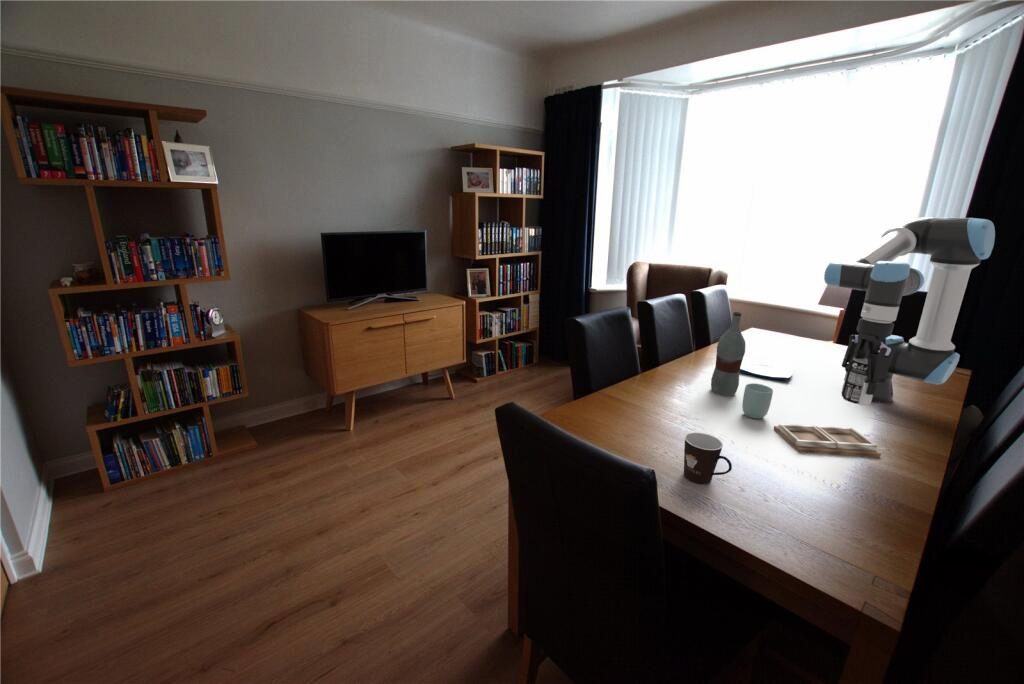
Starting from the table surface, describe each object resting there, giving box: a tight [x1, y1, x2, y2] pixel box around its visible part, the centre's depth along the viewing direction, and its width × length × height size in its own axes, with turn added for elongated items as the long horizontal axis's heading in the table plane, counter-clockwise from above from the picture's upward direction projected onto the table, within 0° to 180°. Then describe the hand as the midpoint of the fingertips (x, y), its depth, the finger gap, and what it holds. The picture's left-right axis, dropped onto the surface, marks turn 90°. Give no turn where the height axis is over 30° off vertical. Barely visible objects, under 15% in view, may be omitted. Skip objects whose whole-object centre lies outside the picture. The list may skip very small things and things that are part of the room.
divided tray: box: [773, 423, 882, 458], centre depth 133 cm, size 22×14×3 cm, turn 87°
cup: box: [741, 382, 774, 420], centre depth 148 cm, size 8×8×10 cm
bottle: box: [710, 311, 746, 397], centre depth 164 cm, size 9×9×30 cm
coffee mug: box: [683, 432, 733, 485], centre depth 110 cm, size 12×9×10 cm
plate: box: [739, 356, 793, 381], centre depth 192 cm, size 20×20×3 cm
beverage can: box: [841, 357, 873, 405], centre depth 128 cm, size 7×7×12 cm
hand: (855, 398), depth 129 cm, fingers closed on beverage can, 7 cm apart
